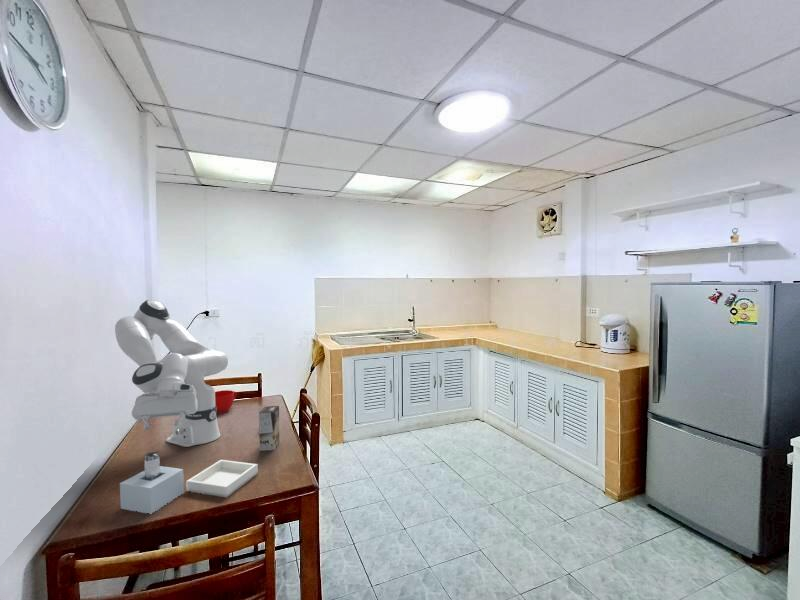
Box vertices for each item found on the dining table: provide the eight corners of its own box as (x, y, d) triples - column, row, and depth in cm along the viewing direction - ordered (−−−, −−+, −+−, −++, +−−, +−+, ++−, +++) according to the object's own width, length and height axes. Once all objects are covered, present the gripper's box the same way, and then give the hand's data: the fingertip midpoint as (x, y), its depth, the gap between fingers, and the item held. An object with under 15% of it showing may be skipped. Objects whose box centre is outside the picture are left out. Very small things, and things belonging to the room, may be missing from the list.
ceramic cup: (245, 407, 214) (244, 389, 213) (220, 416, 198) (219, 397, 198) (228, 404, 219) (228, 387, 219) (203, 413, 204) (202, 395, 203)
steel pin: (142, 487, 118) (141, 456, 118) (153, 481, 122) (152, 451, 121) (152, 489, 117) (151, 457, 116) (163, 482, 121) (162, 452, 120)
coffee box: (275, 450, 155) (274, 412, 155) (259, 451, 155) (258, 413, 154) (280, 441, 165) (279, 405, 164) (265, 442, 164) (264, 406, 163)
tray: (186, 491, 125) (186, 481, 124) (221, 468, 140) (220, 459, 140) (226, 497, 120) (226, 487, 120) (257, 473, 136) (257, 464, 136)
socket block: (120, 508, 115) (119, 483, 115) (155, 488, 127) (154, 465, 127) (151, 514, 112) (150, 488, 112) (184, 492, 124) (183, 469, 123)
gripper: (134, 390, 134) (124, 426, 125) (197, 385, 139) (192, 419, 130) (139, 399, 138) (130, 434, 129) (201, 393, 144) (195, 427, 135)
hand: (161, 427), depth 130 cm, fingers open, 8 cm apart
